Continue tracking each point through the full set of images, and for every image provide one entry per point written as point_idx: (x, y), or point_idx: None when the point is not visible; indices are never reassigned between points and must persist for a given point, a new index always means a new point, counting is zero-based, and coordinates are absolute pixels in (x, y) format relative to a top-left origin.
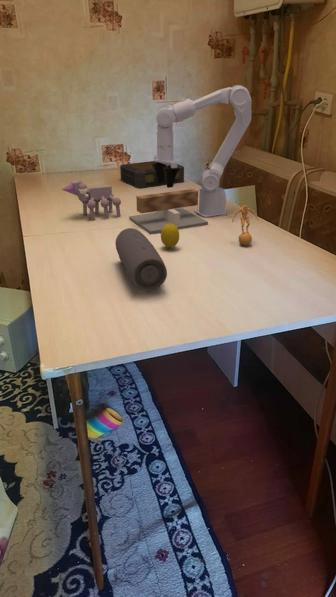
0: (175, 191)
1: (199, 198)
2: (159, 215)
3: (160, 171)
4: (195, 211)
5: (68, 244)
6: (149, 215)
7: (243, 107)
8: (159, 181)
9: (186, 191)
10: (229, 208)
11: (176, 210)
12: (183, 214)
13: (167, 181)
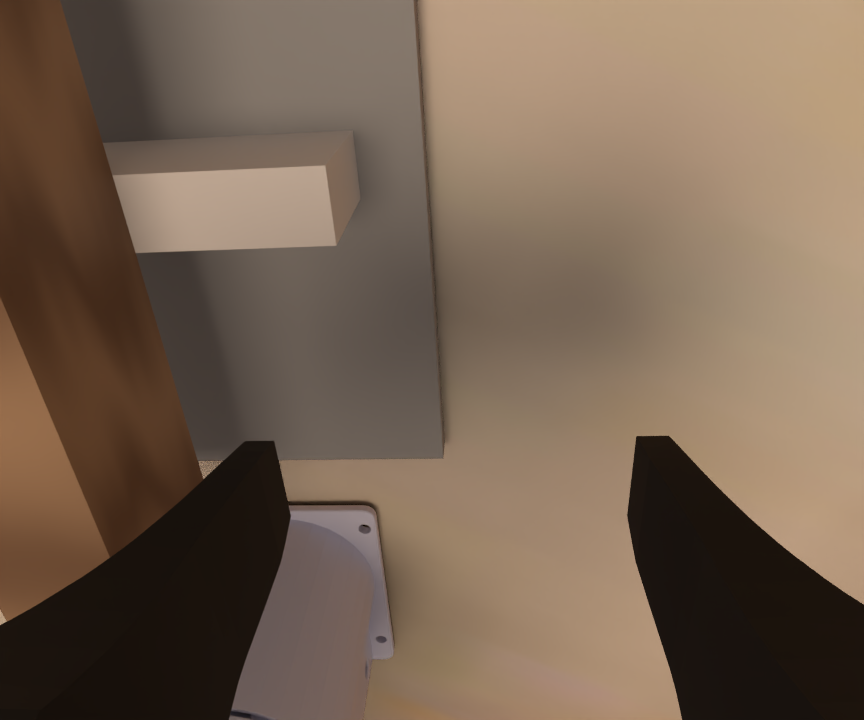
0: (54, 456)
1: (280, 628)
2: (275, 135)
3: (702, 661)
4: (345, 510)
5: None
6: (329, 13)
7: None
8: (641, 471)
9: (34, 569)
10: (368, 712)
11: (405, 381)
12: (250, 382)
13: (175, 507)
